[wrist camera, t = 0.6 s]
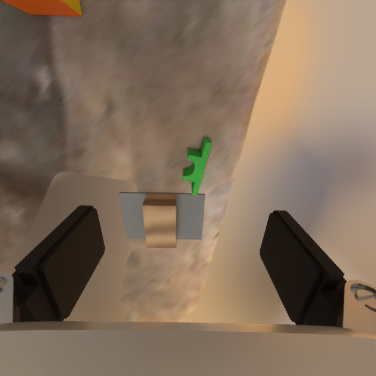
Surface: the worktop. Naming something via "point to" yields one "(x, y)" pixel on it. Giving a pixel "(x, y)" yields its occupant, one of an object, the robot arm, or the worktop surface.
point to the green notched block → (197, 165)
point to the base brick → (160, 220)
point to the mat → (186, 214)
